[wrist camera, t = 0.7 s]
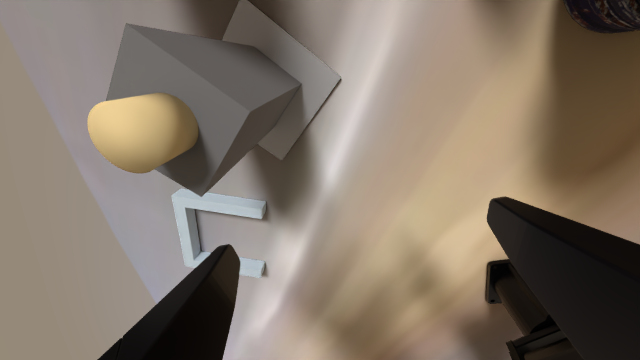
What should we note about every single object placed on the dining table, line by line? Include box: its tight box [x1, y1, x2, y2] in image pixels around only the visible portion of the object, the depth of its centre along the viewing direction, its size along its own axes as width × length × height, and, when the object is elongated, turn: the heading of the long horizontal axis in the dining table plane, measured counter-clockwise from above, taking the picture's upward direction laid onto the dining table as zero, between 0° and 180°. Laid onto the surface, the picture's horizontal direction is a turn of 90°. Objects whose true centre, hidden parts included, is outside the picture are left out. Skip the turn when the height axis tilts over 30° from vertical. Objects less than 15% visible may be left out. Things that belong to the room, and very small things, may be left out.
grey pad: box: [222, 0, 341, 161], centre depth 20 cm, size 9×9×1 cm
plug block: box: [88, 23, 302, 197], centre depth 13 cm, size 4×4×14 cm
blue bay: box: [172, 189, 266, 278], centre depth 26 cm, size 9×10×2 cm
